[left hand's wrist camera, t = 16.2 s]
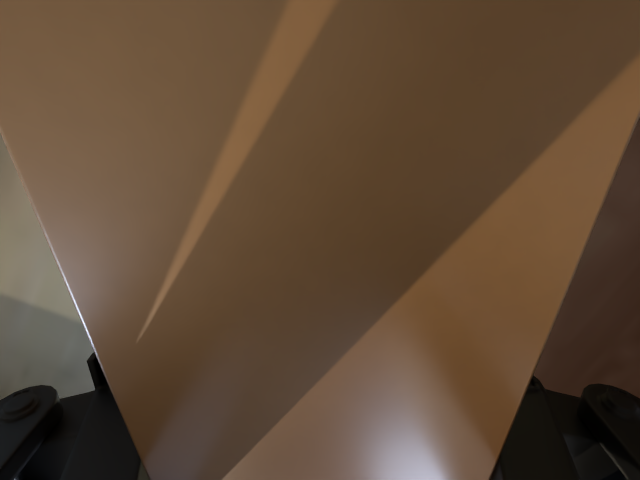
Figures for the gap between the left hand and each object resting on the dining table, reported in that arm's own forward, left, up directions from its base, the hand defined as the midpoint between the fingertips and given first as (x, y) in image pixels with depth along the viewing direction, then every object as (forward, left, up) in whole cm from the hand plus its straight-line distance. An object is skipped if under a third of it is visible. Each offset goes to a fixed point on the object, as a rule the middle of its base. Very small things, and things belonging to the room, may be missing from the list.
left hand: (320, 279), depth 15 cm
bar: (+11, -2, +1) cm, 12 cm away
